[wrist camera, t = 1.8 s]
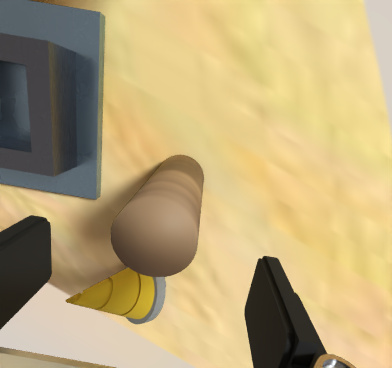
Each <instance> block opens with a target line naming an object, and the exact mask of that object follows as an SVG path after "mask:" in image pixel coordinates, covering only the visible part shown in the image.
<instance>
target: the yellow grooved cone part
mask: <svg viewBox="0 0 392 368" xmlns="http://www.w3.org/2000/svg"><path fill="white" fill-rule="evenodd" d="M165 287H166V282H165V277H150V276H145V275H142V274H139V273H137V272H135V271H133V270H132V269H130V268H129V267H126V268H125V269H124V270H122V271H120V272H118V273H116V274H115V275H113V276H111V277H109V278H108V279H105V280H103V281H101V282H99V283H97V284H95V285H93V286H91V287H90V288H88V289H86V290H84V291H83V293H82V294H81V293H78V294H76V295H74V296H72V297H70V298H69V299H67V300H66V302H67V303H71V304H75V305H79V306H84V307H87V308H91V309H95V310H100V311H104V312H108V313H112V314H116V315H120V316H124V317H126V318H127V319H128V320H129V321H130V322H132V323H134V324H142V323H145V322H149V321H151V320H153V319H154V318H156V317H157V315H158V314H159V313H160V311H161V309H162V307H163V304H164V299H165Z"/></svg>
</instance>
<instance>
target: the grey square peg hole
mask: <svg viewBox="0 0 392 368" xmlns="http://www.w3.org/2000/svg"><path fill="white" fill-rule="evenodd" d="M104 38H105V16H104V15H103V14H102V13H100V12H96V11H90V10H84V9H78V8H72V7H66V6H60V5H54V4H48V3H42V2H36V1H30V0H0V183H3V184H8V185H14V186H20V187H26V188H32V189H38V190H44V191H49V192H55V193H61V194H67V195H73V196H79V197H85V198H90V199H97V198H99V197H100V190H101V152H102V114H103V76H104Z"/></svg>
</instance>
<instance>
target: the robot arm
mask: <svg viewBox="0 0 392 368" xmlns="http://www.w3.org/2000/svg"><path fill="white" fill-rule="evenodd" d="M51 273H52V267H51V227H50V222H48V221H47V219H46V218H44V217H39V216H32V215H31V216H29V217H27V218H25V219H23V220H21V221H19V222H18V223H16V224H14V225H12V226H10V227H9V228H7V229H5V230H3V231H1V232H0V329H1V328H2V327H3V326H4V325H5V324H6V323H7V322H8V321H9V320H10V319H11V318H12V317H13V316H14V315H15V314H16V313H17V312H18V311H19V310H20V309H21V308H22V307H23V306H24V305H25V304H26V303H27V302H28V301H29V300H30V299H31V298H32V297H33V296H34V295H35V294H36V293H37V292H38V291H39V290H40V289H41V288H42V287H43V285H44V284H46V283H47V282H48V280H49V279H50V277H51ZM245 320H246V326H247V332H248V338H249V344H250V349H251V355H252V361H253V367H254V368H356V367H355V366H353V365H352V364H351V363H350V362H348V361H346V360H345V359H343V358H341V357H338V356H336V355H332V354H327V352H326V350H325V348H324V346H323V344H322V342H321V340H320V338H319V336H318V334H317V332H316V330H315V328H314V326H313V324H312V322H311V320H310V318H309V316H308V314H307V312H306V310H305V308H304V306H303V304H302V302H301V300H300V298H299V296H298V295H297V294H296V293H294V291H293V289H292V287H291V285H290V282H289V280H288V278H287V276H286V274H285V272H284V270H283V268H282V266H281V264H280V262H279V260H278V258H274V257H269V256H263V258H262V259H261V258H259V259H258V262H257V266H256V269H255V273H254V276H253V280H252V284H251V287H250V291H249V294H248V298H247V302H246V305H245ZM0 368H115V367H109V366H104V365H99V364H93V363H88V362H82V361H77V360H71V359H66V358H60V357H54V356H49V355H43V354H37V353H32V352H26V351H20V350H15V349H9V348H3V347H0Z"/></svg>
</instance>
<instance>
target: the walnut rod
mask: <svg viewBox="0 0 392 368" xmlns="http://www.w3.org/2000/svg"><path fill="white" fill-rule="evenodd" d="M203 182H204V175H203V171H202V168H201V167H200V165H199V164H198V163H197V162H196V161H195V160H194V159H192V158H191V157H188V156H185V155H175V156H172V157H169V158H168V159H166V160H165V161H164V162H163V163H162V164H161V165H160V167H159V168H158V169H157V170H156V171H155V172H154V174H153V175H152V176H151V177H150V178H149V179H148V180H147V182H146V183H145V184H144V185H143V186H142V187H141V189H140V190H139V191H138V192H137V193H136V194H135V195H134V197H133V198H132V199H131V200H130V201H129V202H128V204H127V205H126V206H125V207H124V208H123V209H122V210H121V212H120V213H119V214H118V215H117V217H116V218H115V220H114V222H113V224H112V228H111V243H112V246H113V249H114V251H115V253H116V255H117V256H118V258H119V259H120V260H121V261H122V262H123V263H124V264H125V265H126V266H127V267H129V268H130V269H132V270H133V271H135V272H137V273H139V274H142V275H145V276H150V277H166V276H171V275H174V274H176V273H178V272H180V271H182V270H183V269H185V268H186V267H187V266H188V265H189V264H190V263H191V262H192V260H193V258H194V256H195V254H196V251H197V245H198V235H199V224H200V214H201V203H202V192H203Z"/></svg>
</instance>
